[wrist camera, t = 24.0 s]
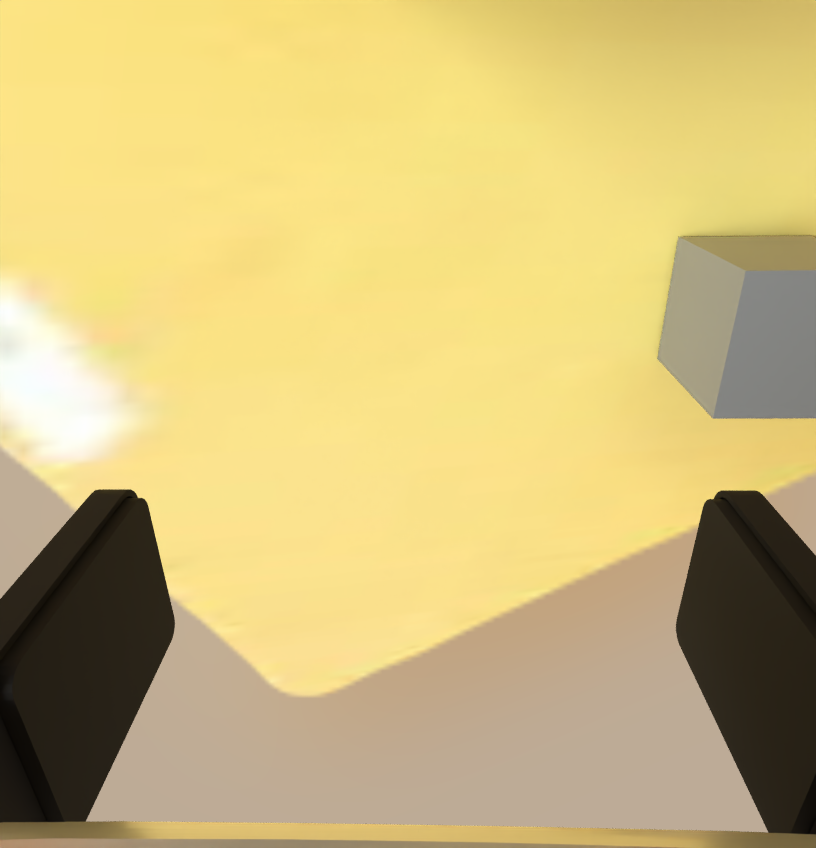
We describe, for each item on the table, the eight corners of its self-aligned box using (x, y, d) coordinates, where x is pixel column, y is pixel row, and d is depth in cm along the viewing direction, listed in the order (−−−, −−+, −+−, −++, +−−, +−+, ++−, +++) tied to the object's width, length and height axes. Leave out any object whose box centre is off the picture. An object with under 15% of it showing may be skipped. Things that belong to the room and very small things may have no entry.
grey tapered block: (678, 236, 38) (746, 270, 30) (810, 235, 37) (913, 269, 29) (657, 358, 41) (712, 418, 33) (778, 358, 41) (862, 418, 33)
